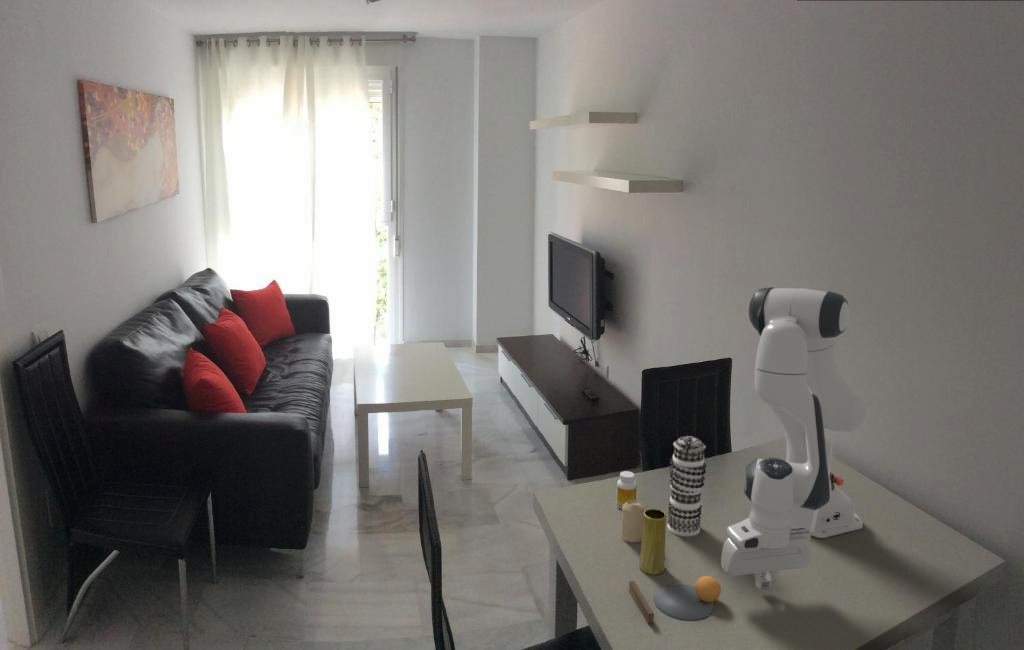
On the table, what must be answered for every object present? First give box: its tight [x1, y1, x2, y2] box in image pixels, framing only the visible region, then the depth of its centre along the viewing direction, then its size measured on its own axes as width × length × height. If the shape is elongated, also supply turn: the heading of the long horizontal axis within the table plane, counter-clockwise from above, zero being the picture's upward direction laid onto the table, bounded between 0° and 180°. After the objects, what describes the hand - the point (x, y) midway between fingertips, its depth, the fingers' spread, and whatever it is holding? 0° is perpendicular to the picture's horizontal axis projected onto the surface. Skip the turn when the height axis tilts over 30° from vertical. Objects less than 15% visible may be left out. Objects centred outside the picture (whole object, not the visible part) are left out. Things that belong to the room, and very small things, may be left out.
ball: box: [694, 575, 722, 603], centre depth 166 cm, size 6×6×6 cm
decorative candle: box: [666, 435, 707, 537], centre depth 194 cm, size 9×9×25 cm
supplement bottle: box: [615, 470, 638, 510], centre depth 207 cm, size 5×5×10 cm
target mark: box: [653, 583, 715, 621], centre depth 166 cm, size 13×13×1 cm
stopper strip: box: [628, 580, 655, 625], centre depth 164 cm, size 1×12×2 cm, turn 11°
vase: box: [638, 508, 667, 575], centre depth 177 cm, size 6×6×14 cm
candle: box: [620, 499, 645, 544], centre depth 191 cm, size 6×6×10 cm
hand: (763, 586), depth 169 cm, fingers closed
